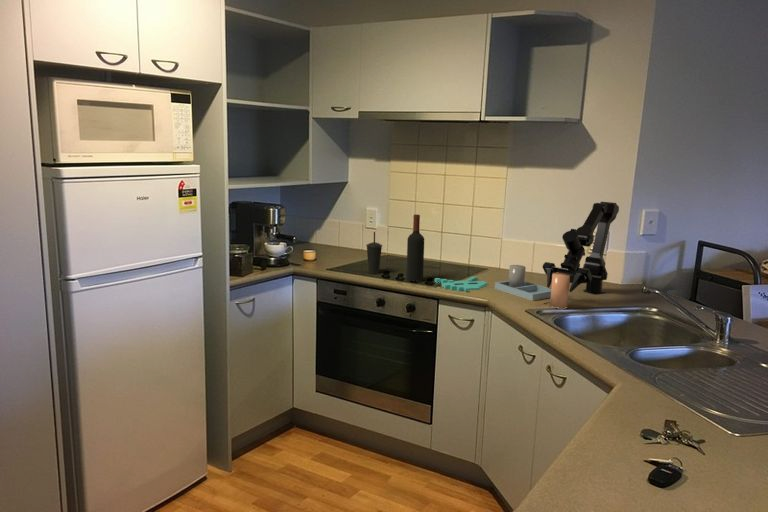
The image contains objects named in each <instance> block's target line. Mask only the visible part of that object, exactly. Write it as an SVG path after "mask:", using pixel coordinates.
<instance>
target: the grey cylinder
mask: <svg viewBox="0 0 768 512" xmlns="http://www.w3.org/2000/svg"><path fill="white" fill-rule="evenodd" d="M508 281H509V284H508V286H510V287H513V288H517V287H523V286H524V283H525V281H526V266H525V265H520V264H511V265H509V271H508Z"/></svg>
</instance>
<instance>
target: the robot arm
mask: <svg viewBox="0 0 768 512" xmlns="http://www.w3.org/2000/svg"><path fill="white" fill-rule="evenodd" d="M591 208H592V209H591V210H590V212H589V214H588V216H587V218H586V219H585V221H584V223H583V225H582V226H579V227H578V228H577V229H575V228H570V230H568V231H565V232H564V233H563V234H562V236H561V237H562V241H563V243H564V245H565V247H566V249H567V250H568V251H567V254H564V260H563V262H560V267H559V266H558V267H557V266H556V265H555V263H554V262H550V261H549V262H548V261H546V262H544V263H543V264H542V267H541V268H542V269H543V272H544V273H545V275H546V287H547V288H550V286H551V285H552V274H553V273H566V274H569V275H570V283H571V284H570V283H569V284H570V286H569V293H572V292H573V291H574V290H575V289H576V288H577V287H578V286H581V284H586V286H585V289H582V291H583V292H586V293H589V294H593V295H598V294H603V293H605V290H603V282H604V281H607V280H608V279H607V278H608V275H609V273H608V271H607V269H606V261H605V259H604V254H605V249H606V244H607V241H608V235H609V232H610V226H611V225H612V223H613V222H614V221H615V220H616V219H617V215H618V214H619V211H620V206H619V205H618V204H617V202H609V201H600V202H594V203H593V205H592V207H591ZM595 230H596V233H595V236H594V232H595ZM592 244H593V246H592ZM591 246H592V250H591V253H590V254H589V255H587V256H586V249H585V247H587V248H588V247H591ZM584 256H586V257H585V260H584V264H583V265H582V267H581V261H582V258H583V257H584Z"/></svg>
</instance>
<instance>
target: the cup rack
mask: <svg viewBox="0 0 768 512" xmlns="http://www.w3.org/2000/svg"><path fill="white" fill-rule="evenodd" d="M508 284H509V280H504V281H496V282H494V290H498V291H501V292H504V293H508V294H511V295H514V296H517V297H520V298H523V299H525V300H528V301H539V300H544V299H550V298H551V288H550V287H549V288H548V287H547V286H544V285H540V284H537V283H533V282H529V281H528V280H527V281H526V280H525V283H524V286H523V287H517V288H513V287H510V286H508Z"/></svg>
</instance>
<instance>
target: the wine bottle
mask: <svg viewBox="0 0 768 512" xmlns="http://www.w3.org/2000/svg"><path fill="white" fill-rule="evenodd" d="M412 220H413V223H412V224H413V226H412V233H410V234H409V235H408V237H407V239H406V240H407V245H406V246H407V247H406V279H405V280H407V282H408V281H413V280H417V281H419V282H418V283H422V282H424V267H425V266H424V265H425V264H424V263H425V260H424V259H425V237H424V236H423V234H421V232H420V220H421V215H420V214H413V219H412Z"/></svg>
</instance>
